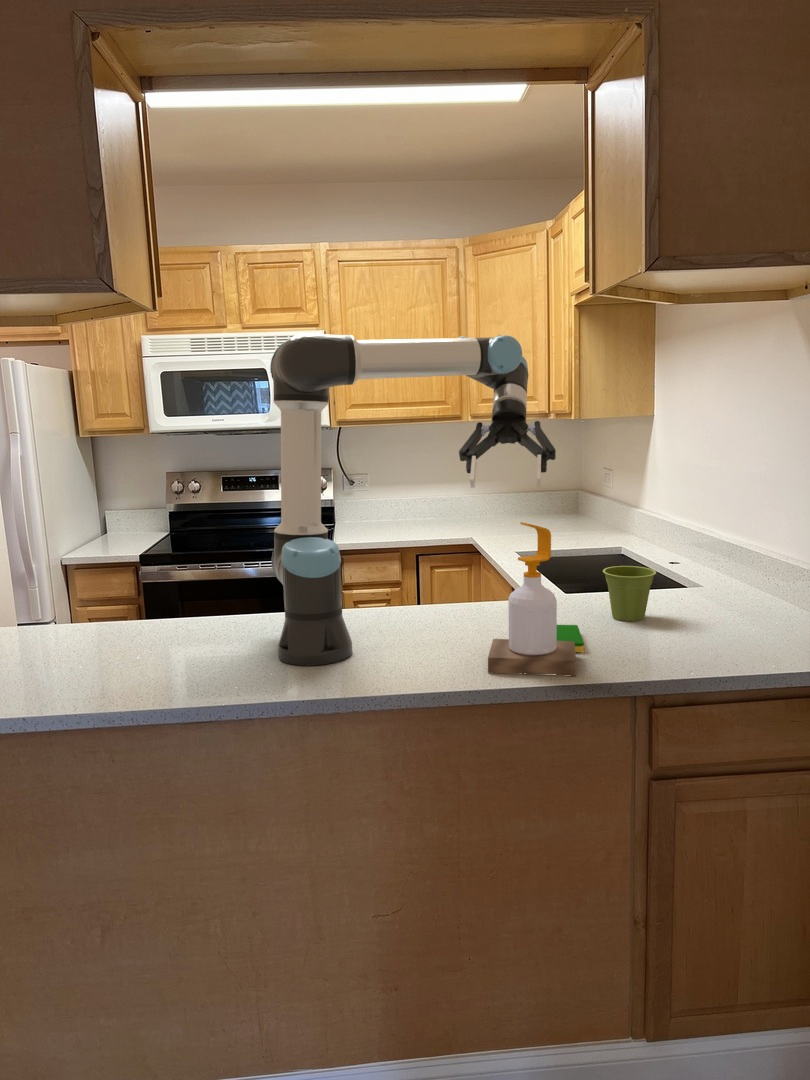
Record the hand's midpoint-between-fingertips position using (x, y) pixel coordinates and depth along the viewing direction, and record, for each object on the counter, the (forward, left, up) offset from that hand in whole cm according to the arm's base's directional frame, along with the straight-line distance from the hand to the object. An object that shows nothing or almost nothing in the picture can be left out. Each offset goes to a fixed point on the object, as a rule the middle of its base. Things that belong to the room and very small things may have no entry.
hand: (505, 483), depth 154 cm
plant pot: (+27, +21, -34) cm, 48 cm away
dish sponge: (+12, 0, -34) cm, 36 cm away
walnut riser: (+6, -15, -34) cm, 37 cm away
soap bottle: (+6, -15, -31) cm, 35 cm away
